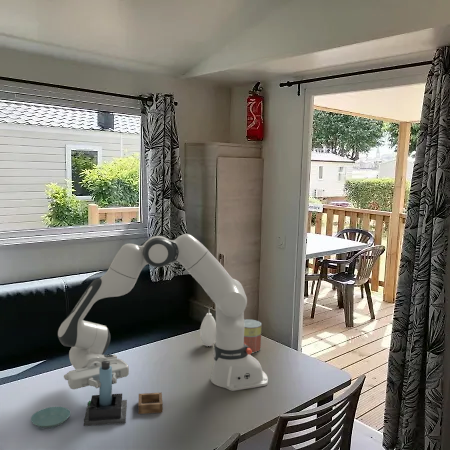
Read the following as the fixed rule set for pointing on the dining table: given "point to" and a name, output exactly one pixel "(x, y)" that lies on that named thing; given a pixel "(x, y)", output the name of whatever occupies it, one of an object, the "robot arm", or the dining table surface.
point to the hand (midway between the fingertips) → (106, 383)
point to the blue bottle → (105, 384)
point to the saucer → (50, 417)
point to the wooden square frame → (150, 403)
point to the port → (105, 411)
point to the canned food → (252, 334)
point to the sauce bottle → (208, 330)
